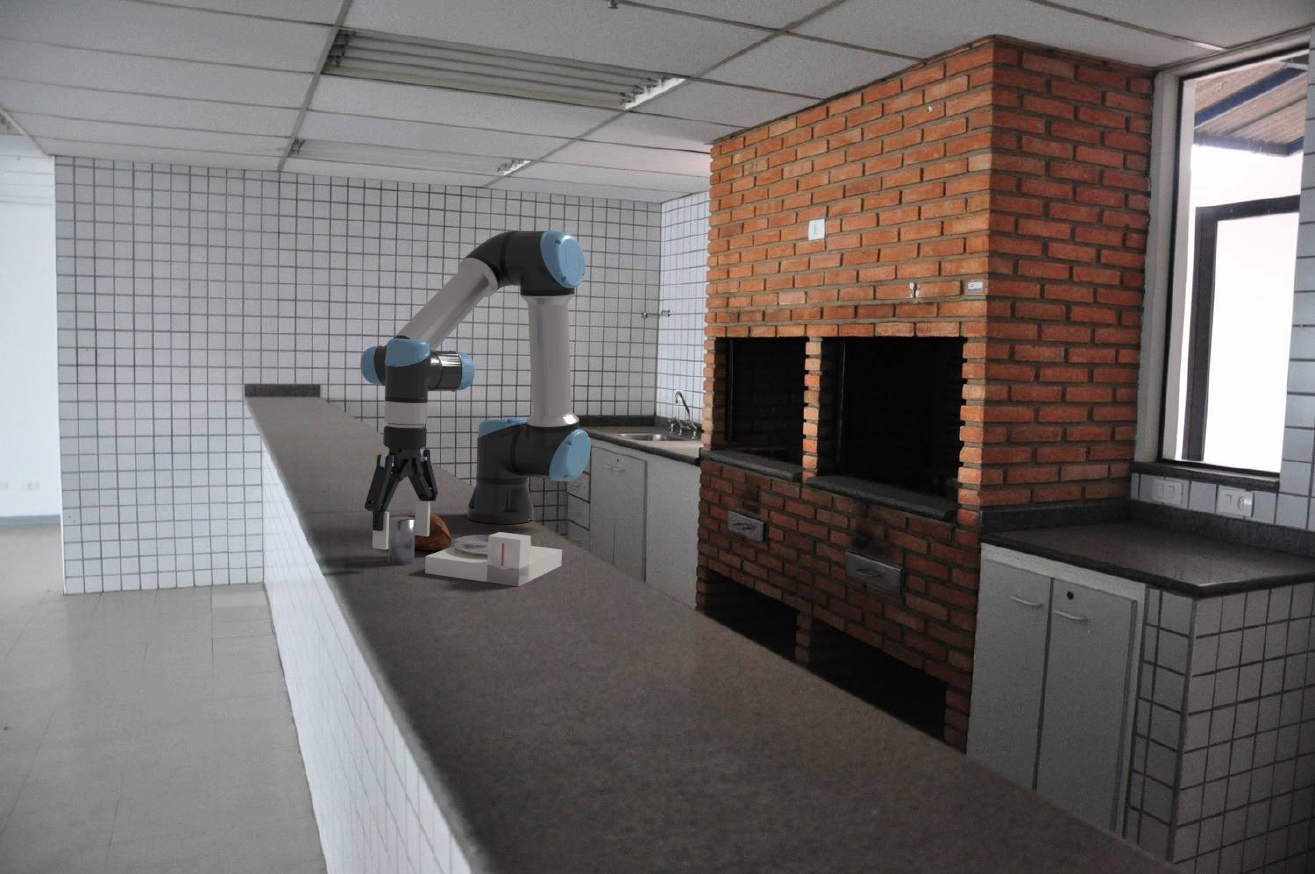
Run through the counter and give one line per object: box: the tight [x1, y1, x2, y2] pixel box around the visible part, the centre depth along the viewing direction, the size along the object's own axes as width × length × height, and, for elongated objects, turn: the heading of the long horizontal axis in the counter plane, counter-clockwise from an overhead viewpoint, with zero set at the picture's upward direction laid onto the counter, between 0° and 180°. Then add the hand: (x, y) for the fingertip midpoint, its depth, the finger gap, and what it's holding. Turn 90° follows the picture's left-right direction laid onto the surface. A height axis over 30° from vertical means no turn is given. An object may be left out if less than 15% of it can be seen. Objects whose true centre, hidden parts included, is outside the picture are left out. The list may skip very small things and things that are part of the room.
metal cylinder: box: [387, 516, 416, 566], centre depth 182 cm, size 5×5×8 cm
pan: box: [452, 534, 532, 555], centre depth 182 cm, size 14×14×2 cm
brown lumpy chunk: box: [404, 512, 453, 552], centre depth 194 cm, size 13×8×10 cm
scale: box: [424, 531, 563, 587], centre depth 180 cm, size 18×18×8 cm
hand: (401, 541), depth 182 cm, fingers open, 13 cm apart
